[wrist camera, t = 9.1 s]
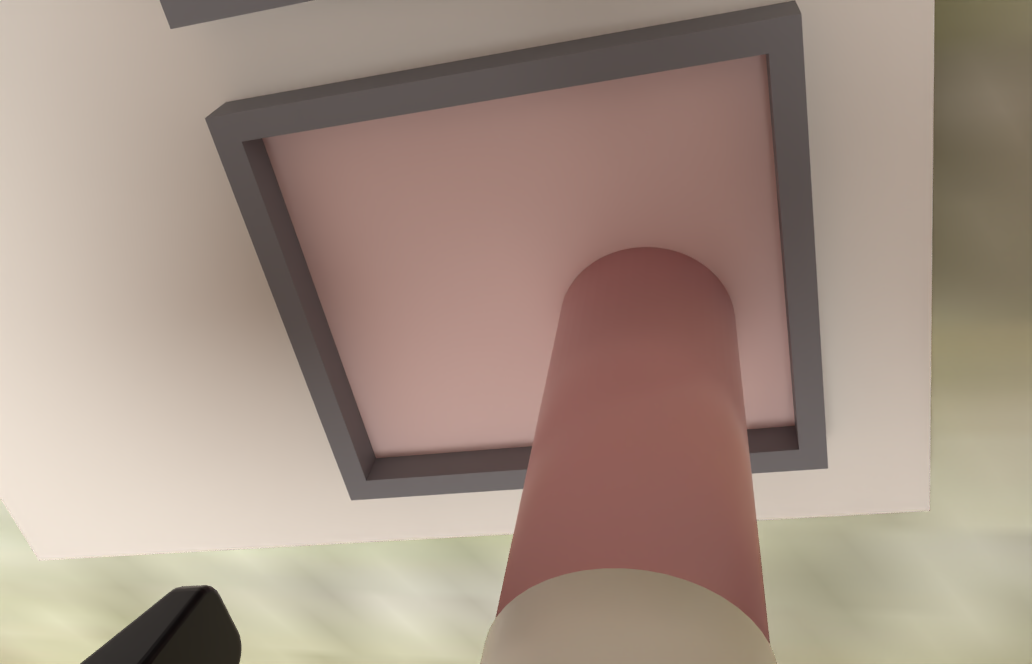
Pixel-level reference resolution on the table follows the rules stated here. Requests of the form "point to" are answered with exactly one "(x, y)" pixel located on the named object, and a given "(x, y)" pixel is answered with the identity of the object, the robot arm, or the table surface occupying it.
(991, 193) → the table surface
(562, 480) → the rose marker
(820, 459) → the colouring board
